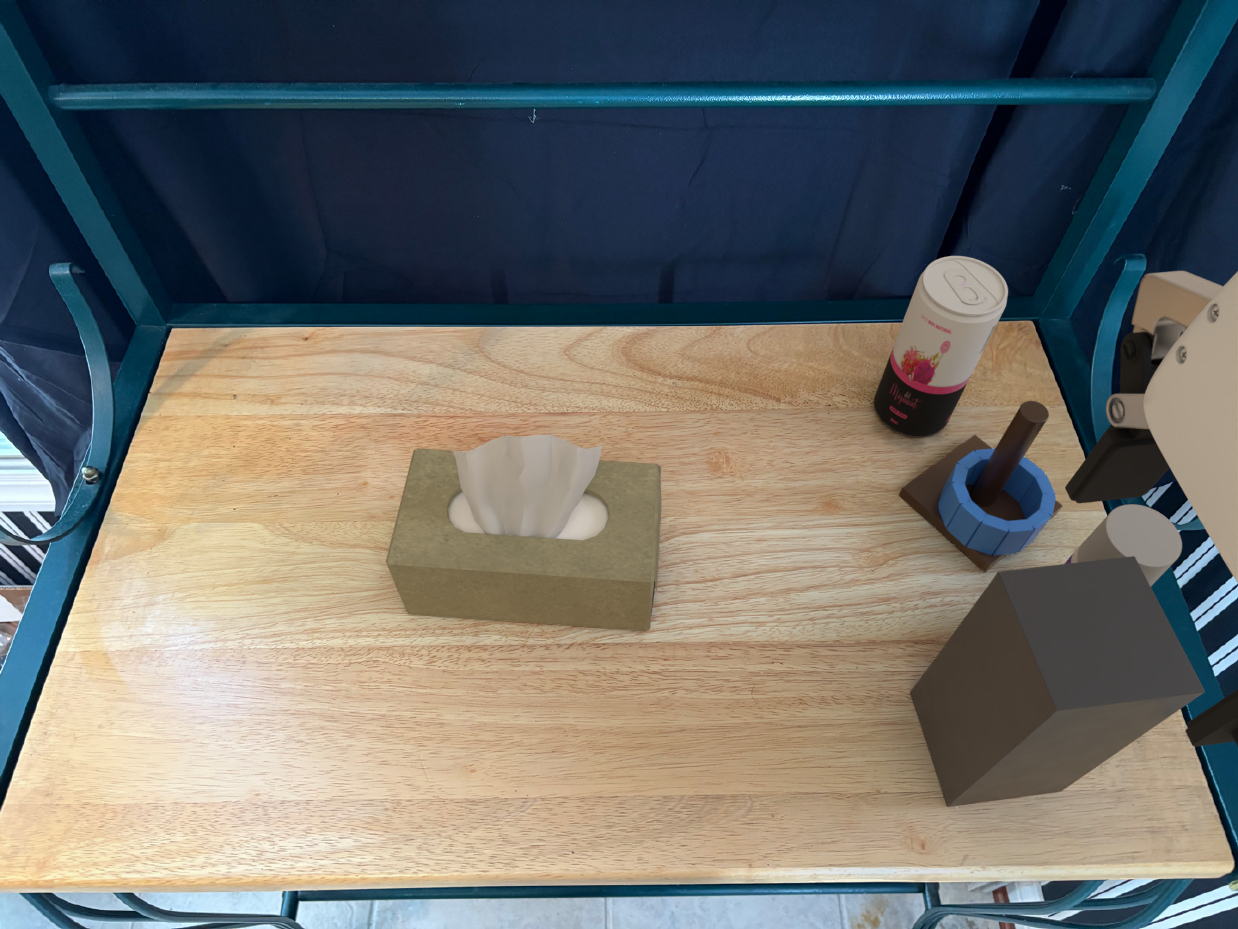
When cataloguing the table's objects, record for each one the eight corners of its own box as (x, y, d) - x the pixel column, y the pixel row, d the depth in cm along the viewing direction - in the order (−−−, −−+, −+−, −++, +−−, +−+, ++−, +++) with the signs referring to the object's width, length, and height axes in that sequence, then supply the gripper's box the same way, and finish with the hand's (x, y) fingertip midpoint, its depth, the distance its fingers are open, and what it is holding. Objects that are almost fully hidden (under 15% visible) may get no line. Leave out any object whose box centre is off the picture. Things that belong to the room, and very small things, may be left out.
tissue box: (659, 520, 73) (670, 395, 60) (653, 632, 67) (664, 520, 54) (427, 505, 74) (389, 377, 61) (402, 615, 68) (354, 500, 55)
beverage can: (892, 447, 77) (946, 323, 65) (860, 390, 81) (905, 263, 69) (961, 431, 79) (1027, 306, 66) (926, 375, 82) (982, 247, 70)
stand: (1057, 513, 74) (1127, 421, 64) (985, 572, 71) (1047, 485, 61) (970, 442, 78) (1023, 345, 68) (898, 495, 75) (943, 401, 65)
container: (1004, 613, 69) (1091, 505, 56) (1064, 607, 69) (1163, 499, 57) (1027, 671, 66) (1123, 572, 54) (1089, 665, 66) (1198, 565, 54)
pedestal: (1061, 791, 61) (1205, 692, 46) (947, 807, 60) (1056, 711, 46) (1016, 679, 66) (1134, 555, 51) (909, 692, 65) (998, 571, 50)
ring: (1056, 522, 72) (1076, 497, 69) (993, 572, 69) (1010, 549, 66) (982, 459, 75) (997, 433, 72) (919, 504, 73) (932, 479, 70)
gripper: (2158, 579, 15) (1401, 836, 29) (1456, 13, 25) (1148, 410, 39) (1744, 632, 14) (1177, 868, 28) (1195, 30, 24) (978, 427, 38)
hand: (1160, 603), depth 33 cm, fingers open, 9 cm apart
